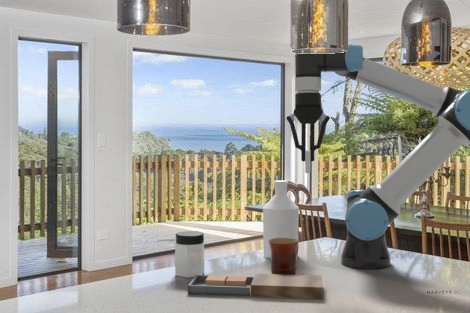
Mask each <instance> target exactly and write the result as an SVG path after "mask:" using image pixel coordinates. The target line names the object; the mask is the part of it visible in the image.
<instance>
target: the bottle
mask: <svg viewBox="0 0 470 313" xmlns="http://www.w3.org/2000/svg"><path fill="white" fill-rule="evenodd" d="M288 184H289V182H288V180H283V179H282V180H273V185H274V195H273V196H272V197H271V198H270V199H269V201H268V202H266V203H265V205H263V207H262V225H263V226H262V227H263V230H262V232H263V233H262V234H263V236H262V237H263V257H264V258H267V259H269V258H270V260H271V248H270V244H269V240H270V239H273V238H293V239H297V240H299V219H300V218H299V215H300V213H299V212H300V211H299V210H300V208H299V206H298V205H297V204H296V203H295V202H294V201H293V200H292V199H291V198H290V197H289V196H288V194H287V193H288V192H287V191H288ZM298 255H299V253H298V254H297V258H298V257H299V256H298Z"/></svg>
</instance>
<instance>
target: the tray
mask: <svg viewBox="0 0 470 313" xmlns="http://www.w3.org/2000/svg"><path fill="white" fill-rule="evenodd" d="M209 275H210V274H209ZM209 275H205V274H204V275H196V276H195V277H192V278H193V279H192V280H191V281H190V282H189V284H188V285H187V295H201V296H202V295H210V296H234V297H235V296H237V297H251V283H252V281H253V278H254V276H247V287H235V286H206V283H205V280H206V279H207V277H208V276H209ZM226 276H227V278H228V276H229V275H226Z"/></svg>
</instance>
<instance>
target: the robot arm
mask: <svg viewBox="0 0 470 313" xmlns="http://www.w3.org/2000/svg"><path fill="white" fill-rule="evenodd" d="M347 45H348V51H347V52H344V53H335V54H298V53H296V52H295V54H294V56H295V57H294V60H295V61H294V62H295V63H294V66H295V69H294V70H295V71H294V73H295V80H294V82H295V83H294V84H295V86H294V87H295V88H294V89H295V90H294V91H295V92H296V93H295V95H294V96H295V101H294V102H295V106H294V109H293V112H292V114H290V115H288V116H286V120H287V122H288V123H289V127H290V131H291V134H292V139H293V142H294V146H295V148H296V149H299V150H300V152H301V157H300V158H301V162H304V163H305V165H304V166H305V167H304V169H305V170H304V172H305V174H311V162H315V151H316V150H318V149H321V147H322V142H323V139H324V135H325V130H326V127H327V123H328V122H329V121H330V119H331V116H330V115H327V114H325V113H324V111H323V109H322V94H321V93H320V92H321V91H322V73H328V72H330V73H331V72H333V73H335V74H336V75H337V76H340V77H345V78H348V79H350V80H353V81H355V82H358V83H360V84H363V85H366V86H368V87H370V88H373V89H375V90H379V91H381V92H382V93H386V94H388V95H391V96H393V97H396V98H398V99H400V100H403V101H406V102H408V103H410V104H413V105H416V106H418V107H420V108H423V109H426V110H427V111H430V112H431V113H432V114H433V116H434V117H437V118H438V123H437V125H436V126H435V127H434V128H433V130H431V131H430V132H429V133H428V134H427V135H426V136H425V138H423V139H422V140H421V141H420V142H419V144H417V146H416V147H415V148H413V149H412V150H411V151H410V152H409V153H408V154H407V155H406V156H405V157H404V158H403V159H402V160H401V162H399V163H398V164H397V165H396V167H394V168H393V170H392V171H390V173H388V174H387V175H386V176H385V178H383V180H382V181H380V183H378V184H373V185H371V184H370V185H369V186H368V187H367V188H365V189H364V190H361V189H359V190H358V189H357V190H356V189H355V190H354V189H353V190H349V191H348V192H347V195H346V196H347V197H346V202H347V203H346V213H345V214H344V215H345V217H344V219H345V226H346V239H345V243H344V246H343V249H342V252H341V254H340V263H341V264H342V265H343V266H347V267H351V268H355V269H356V268H358V269H383V268H387V267H390V266H391V255H390V252H389V249H388V248H389V247H388V244H387V243H386V240H385V239H386V237H385V236H386V233H385V232H386V231H388V230H387V229H388V227H389V225H390V224H392V223H393V222H394V221H395V219H397V218H398V216H399V215H400V214H401V206H402V205H403V204H404V203H406V201H407V200H408V199H409V198H410V197H411V196H412V195H413V194H414V193H415V192H416V191H417V190H418V189H419V188H420V187H421V186H422V185H424V183H425V182H427V181H428V180H429V178H430V177H431V176H433V174H434V173H436V171H438V170H439V168H441V167H442V166H443V165H444V163H446V161H448V160H449V158H451V157H452V156H453V155H454V154H455V152H457V151H458V150H459V149H460V147H461V146H470V89H466V90H460V89H456V88H453V87H450V86H445V87H441V86H438V85H436V84H433V83H431V82H428V81H425V80H422V79H419V78H417V77H415V76H412V75H410V74H407V73H404V72H403V71H400V70H397V69H394V68H392V67H389V66H387V65H384V64H381V63H379V62H377V61H374V60H371V59H369V58H366V57H364V48H363V46H362V45H360V44H347ZM295 118H296V119H297V121H298V122H299V123H300V124H301V140H300V141H301V144H300V142H299V138H298V134H297V130H296V125H295V121H296V119H295ZM319 119H321V120H320V121H321V126H320V130H319V134H318V138H317V143H316V144H315V124H316V123H317V122H318V121H319ZM307 124H308V125H310V126H309V127H310V130H309V134H310V135H309V140H310V141H309V143H310V144H309V146H310V149H309V150H306V146H307V142H306V141H307V140H306V139H307V135H306V134H307V132H306V131H307V130H306V128H307V126H306V125H307Z"/></svg>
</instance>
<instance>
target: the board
mask: <svg viewBox="0 0 470 313" xmlns="http://www.w3.org/2000/svg"><path fill="white" fill-rule="evenodd" d="M253 277H254V278H253V281H252V283H251V294H250V297H251V298H275V299H277V298H278V299H301V300H302V299H306V300H310V299H311V300H323V296H324V295H323V292H324V291H323V289H324V288H323V275H319V274H318V275H317V274H316V275H315V274H313V275H312V274H295V275H289V274H272V273H254V275H253Z"/></svg>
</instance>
